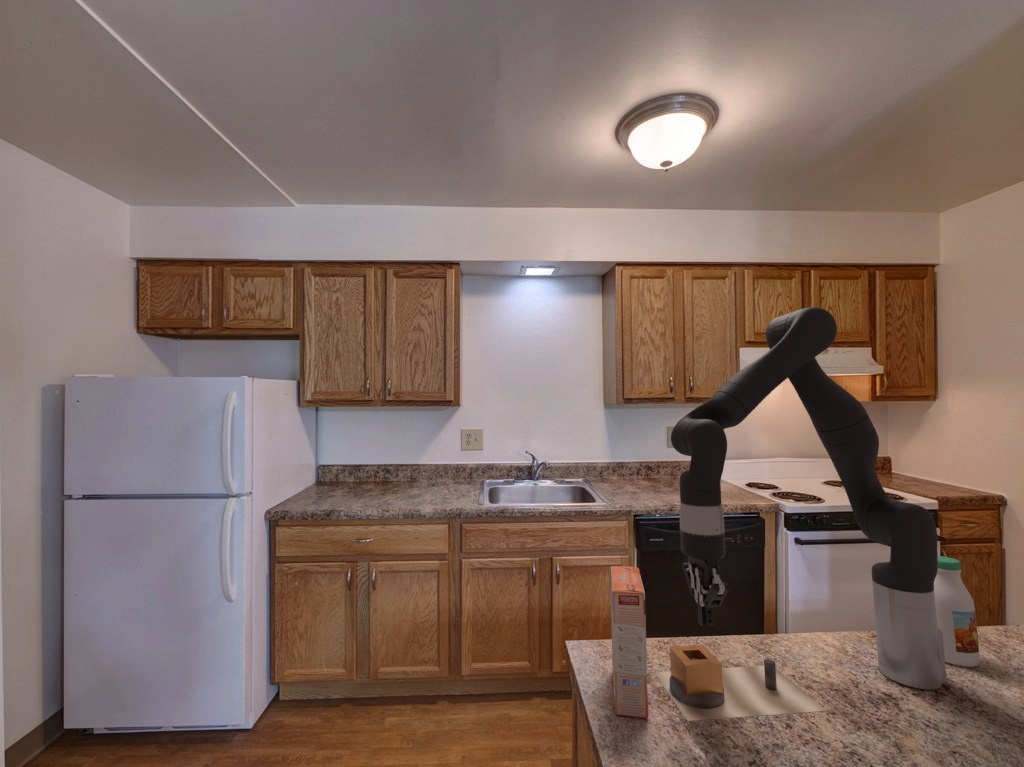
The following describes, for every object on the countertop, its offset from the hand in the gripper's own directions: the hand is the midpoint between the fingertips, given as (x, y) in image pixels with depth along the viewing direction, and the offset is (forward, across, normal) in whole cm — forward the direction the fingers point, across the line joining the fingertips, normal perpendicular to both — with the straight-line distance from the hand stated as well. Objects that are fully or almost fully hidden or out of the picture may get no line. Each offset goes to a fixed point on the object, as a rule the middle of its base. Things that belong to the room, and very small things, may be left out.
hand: (706, 625), depth 82 cm
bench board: (+13, 0, -5) cm, 14 cm away
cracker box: (+13, +4, +13) cm, 19 cm away
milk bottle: (+13, +8, -57) cm, 59 cm away
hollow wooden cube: (+10, 0, +2) cm, 10 cm away
